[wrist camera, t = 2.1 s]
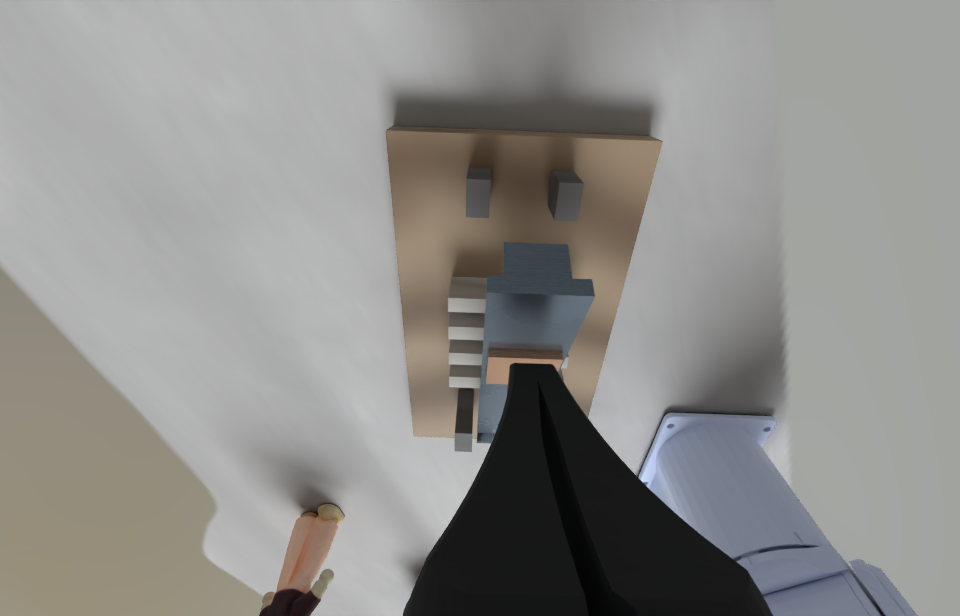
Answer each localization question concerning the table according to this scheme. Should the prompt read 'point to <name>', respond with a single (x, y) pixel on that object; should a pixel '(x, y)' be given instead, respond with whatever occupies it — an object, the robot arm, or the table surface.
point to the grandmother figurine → (304, 565)
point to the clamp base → (479, 246)
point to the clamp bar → (527, 320)
